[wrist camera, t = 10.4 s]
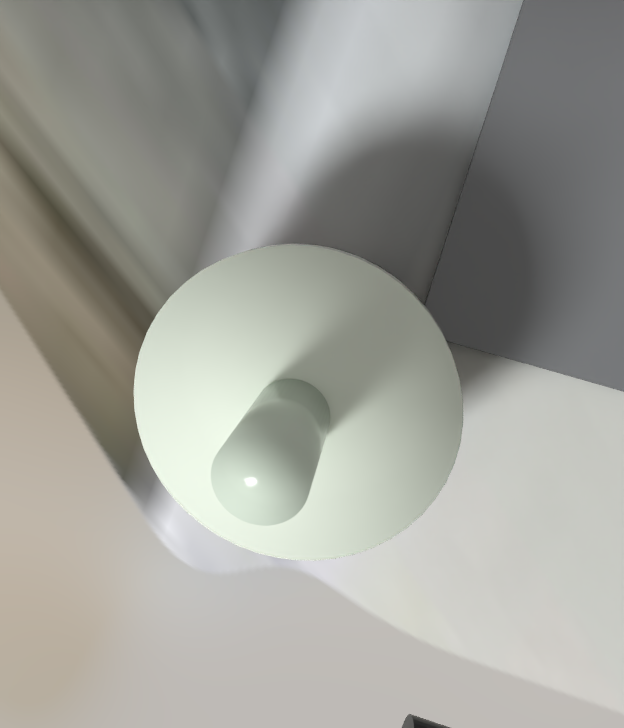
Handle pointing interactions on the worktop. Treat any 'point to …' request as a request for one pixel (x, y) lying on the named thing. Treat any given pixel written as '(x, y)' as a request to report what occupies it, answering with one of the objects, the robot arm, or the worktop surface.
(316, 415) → the lid
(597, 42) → the mat
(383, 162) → the worktop surface
